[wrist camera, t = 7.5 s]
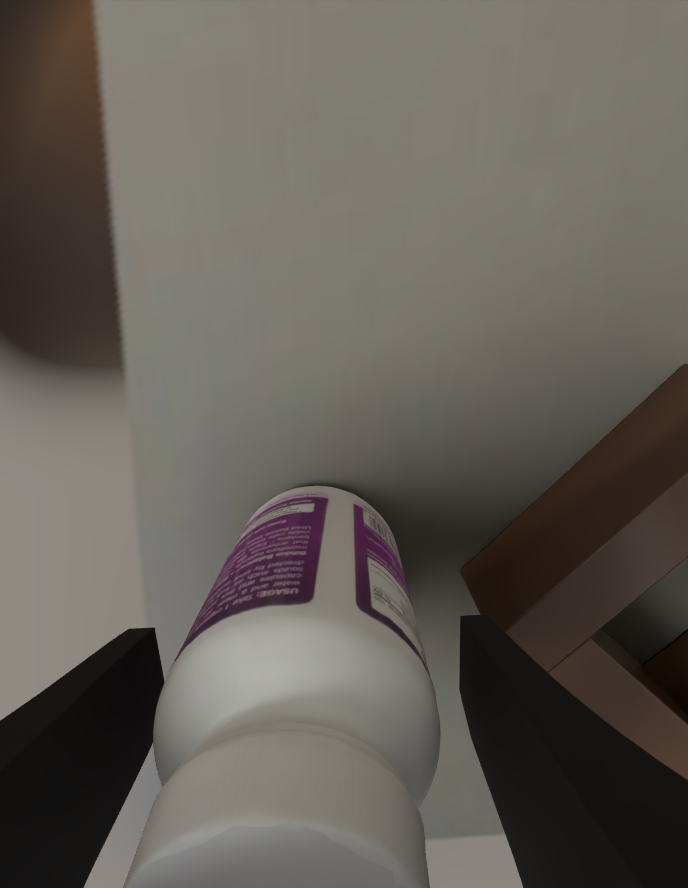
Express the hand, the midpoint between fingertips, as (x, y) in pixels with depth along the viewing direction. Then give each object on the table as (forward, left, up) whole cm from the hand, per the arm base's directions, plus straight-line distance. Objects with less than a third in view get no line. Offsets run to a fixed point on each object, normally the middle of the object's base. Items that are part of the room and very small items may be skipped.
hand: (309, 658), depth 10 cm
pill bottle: (0, 0, -5) cm, 5 cm away
